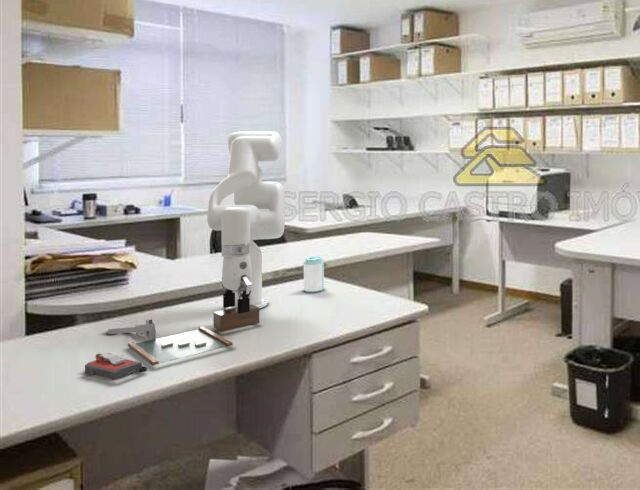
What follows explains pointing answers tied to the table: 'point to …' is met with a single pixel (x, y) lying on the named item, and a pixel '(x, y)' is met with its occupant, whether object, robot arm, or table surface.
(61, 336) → the table surface
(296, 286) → the table surface
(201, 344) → the chalk mark
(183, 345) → the chalk mark
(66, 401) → the table surface
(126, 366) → the toy chainsaw
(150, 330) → the caliper
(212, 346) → the chalkboard
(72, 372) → the table surface
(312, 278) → the can
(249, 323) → the eraser
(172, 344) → the chalk mark
